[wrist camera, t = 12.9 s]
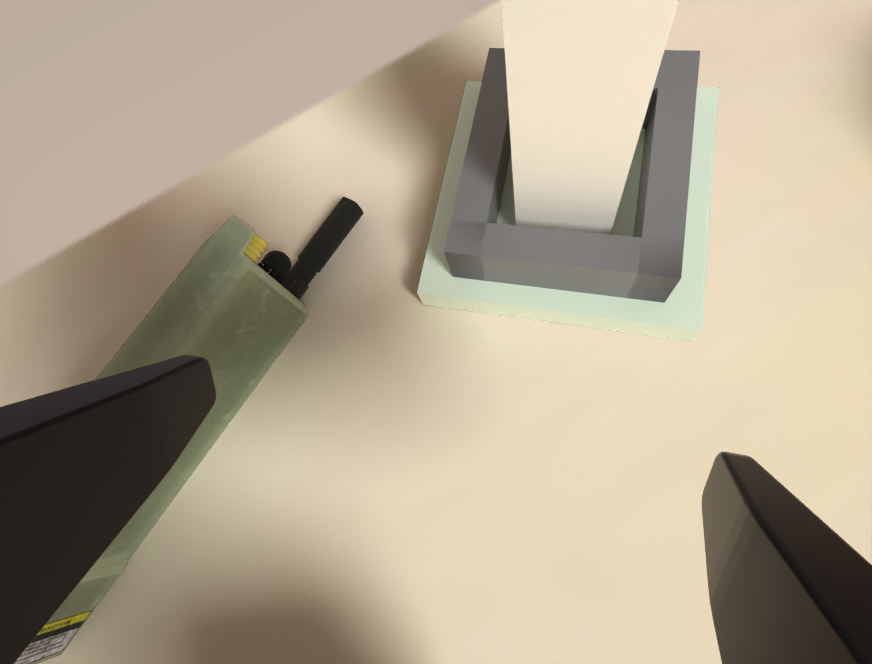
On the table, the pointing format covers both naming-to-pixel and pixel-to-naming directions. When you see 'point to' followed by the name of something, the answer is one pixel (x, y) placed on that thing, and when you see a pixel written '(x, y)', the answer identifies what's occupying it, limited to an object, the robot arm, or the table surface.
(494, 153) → the socket board
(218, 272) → the handheld radio
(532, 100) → the plug
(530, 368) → the table surface
